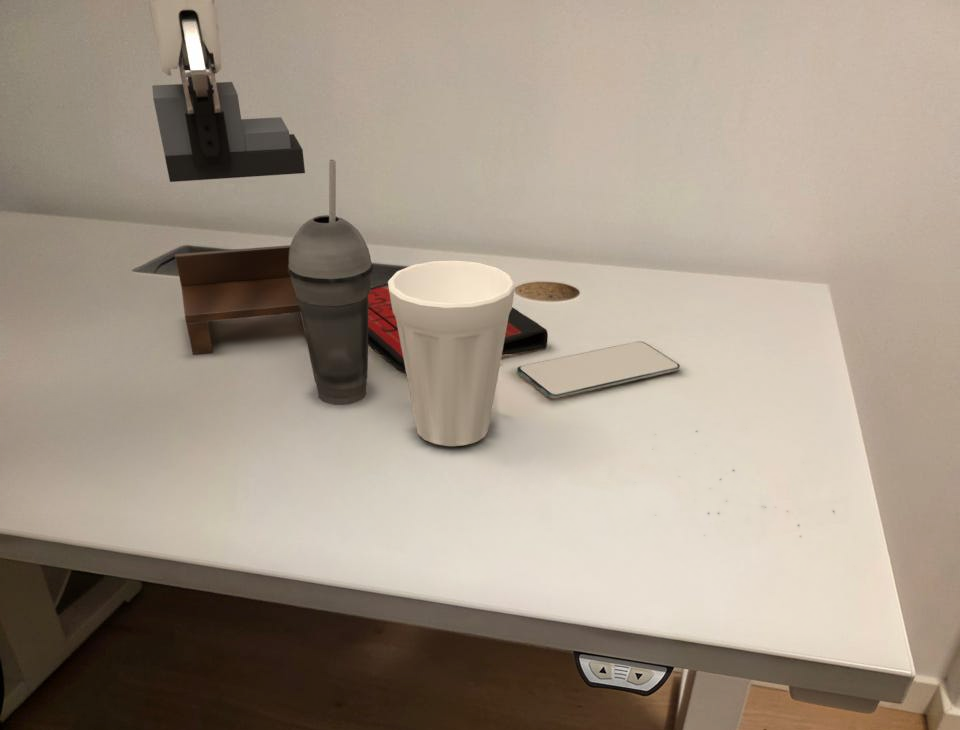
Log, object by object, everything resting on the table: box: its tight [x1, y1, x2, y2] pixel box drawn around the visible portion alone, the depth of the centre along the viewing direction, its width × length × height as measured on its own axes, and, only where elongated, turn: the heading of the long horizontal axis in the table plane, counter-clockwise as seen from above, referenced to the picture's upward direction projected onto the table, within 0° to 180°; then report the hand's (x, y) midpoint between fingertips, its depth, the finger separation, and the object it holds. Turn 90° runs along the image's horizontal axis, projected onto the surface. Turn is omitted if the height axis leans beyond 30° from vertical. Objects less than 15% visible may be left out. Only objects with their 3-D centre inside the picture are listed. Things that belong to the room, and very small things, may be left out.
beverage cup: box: [288, 159, 374, 406], centre depth 78 cm, size 7×7×20 cm
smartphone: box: [516, 341, 681, 399], centre depth 88 cm, size 7×1×15 cm
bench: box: [174, 244, 301, 355], centre depth 93 cm, size 14×9×7 cm, turn 106°
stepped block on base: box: [151, 81, 306, 183], centre depth 81 cm, size 12×6×6 cm, turn 106°
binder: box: [368, 282, 549, 372], centre depth 96 cm, size 16×2×21 cm
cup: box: [387, 260, 516, 447], centre depth 75 cm, size 10×10×13 cm
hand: (210, 152), depth 82 cm, fingers closed on stepped block on base, 6 cm apart
